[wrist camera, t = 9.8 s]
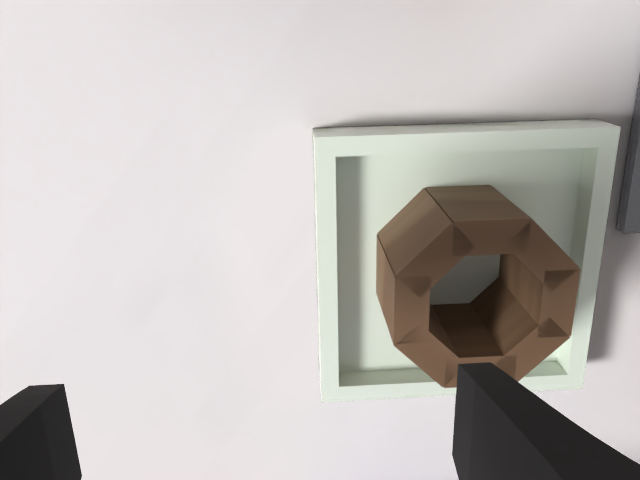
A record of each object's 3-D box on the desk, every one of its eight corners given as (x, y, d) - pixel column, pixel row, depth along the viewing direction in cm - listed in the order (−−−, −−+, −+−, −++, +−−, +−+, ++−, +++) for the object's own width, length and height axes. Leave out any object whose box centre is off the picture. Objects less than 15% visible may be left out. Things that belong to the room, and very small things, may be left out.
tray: (564, 366, 23) (582, 388, 22) (319, 378, 23) (322, 402, 21) (596, 119, 20) (620, 127, 18) (312, 128, 19) (314, 137, 18)
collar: (537, 183, 20) (587, 216, 16) (521, 326, 22) (565, 382, 18) (377, 188, 20) (396, 223, 16) (375, 333, 21) (392, 390, 18)
